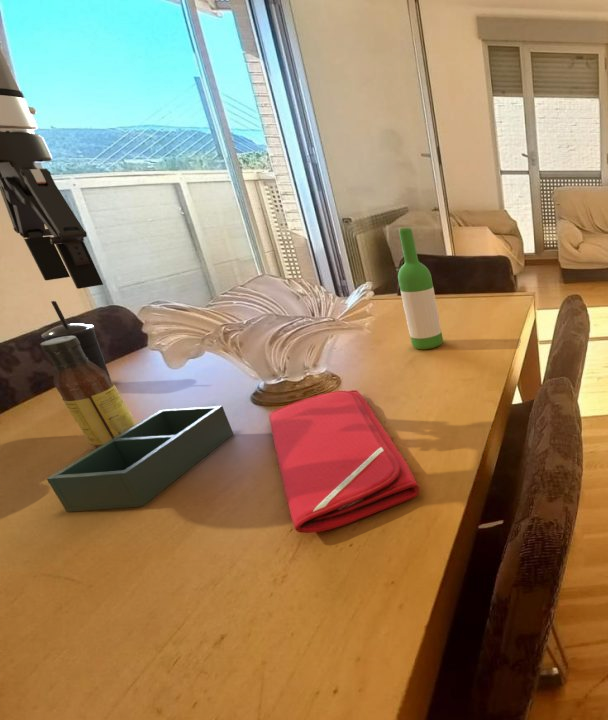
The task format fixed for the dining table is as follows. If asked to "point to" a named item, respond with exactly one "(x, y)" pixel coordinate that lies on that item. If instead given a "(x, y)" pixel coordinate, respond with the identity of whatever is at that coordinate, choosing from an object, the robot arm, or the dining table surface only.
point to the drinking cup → (83, 335)
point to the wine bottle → (418, 297)
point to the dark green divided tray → (141, 460)
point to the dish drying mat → (337, 461)
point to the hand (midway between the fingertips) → (73, 282)
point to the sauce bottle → (87, 392)
